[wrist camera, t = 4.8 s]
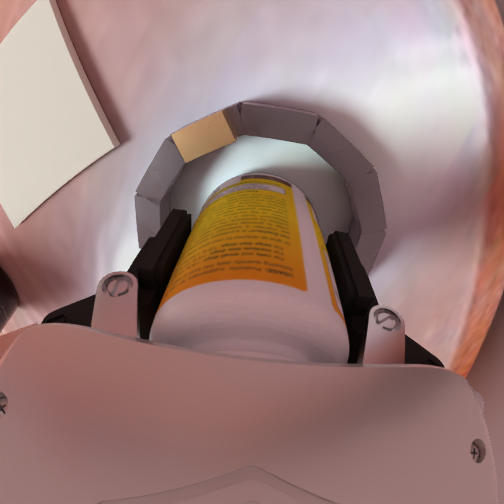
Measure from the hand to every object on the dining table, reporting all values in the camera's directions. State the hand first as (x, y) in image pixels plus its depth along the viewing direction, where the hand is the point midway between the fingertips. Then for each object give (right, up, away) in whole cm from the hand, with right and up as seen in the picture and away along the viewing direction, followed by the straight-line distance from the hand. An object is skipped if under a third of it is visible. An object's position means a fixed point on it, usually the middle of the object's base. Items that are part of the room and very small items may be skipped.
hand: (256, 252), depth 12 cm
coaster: (-14, +8, -1) cm, 16 cm away
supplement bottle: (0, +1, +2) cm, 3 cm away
